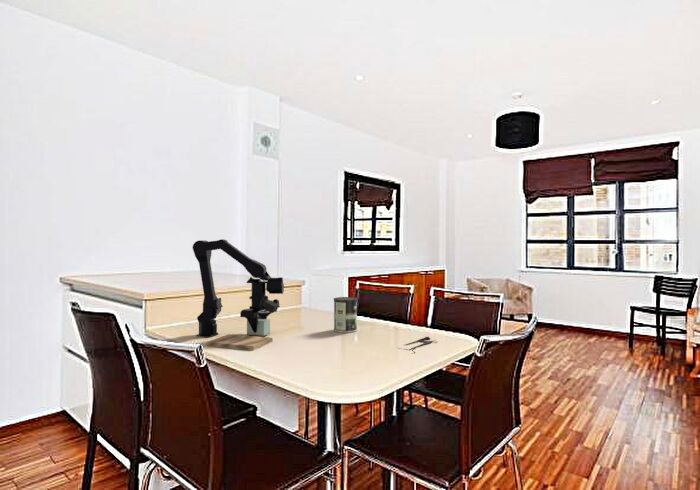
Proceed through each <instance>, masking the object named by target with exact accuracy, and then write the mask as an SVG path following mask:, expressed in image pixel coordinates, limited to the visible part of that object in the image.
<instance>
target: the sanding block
mask: <svg viewBox="0 0 700 490" xmlns="http://www.w3.org/2000/svg"><path fill="white" fill-rule="evenodd" d="M270 334H271V319H269V318H267V319H258V324H257V332H256V333H255V332H253V330H252V328H251V326H250V324H249V322H248V320H247V319H246V336H257V337H266V336H267V335H270Z"/></svg>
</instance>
